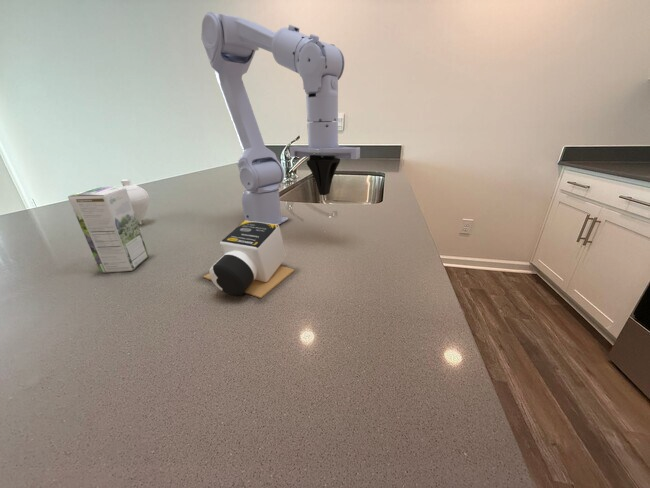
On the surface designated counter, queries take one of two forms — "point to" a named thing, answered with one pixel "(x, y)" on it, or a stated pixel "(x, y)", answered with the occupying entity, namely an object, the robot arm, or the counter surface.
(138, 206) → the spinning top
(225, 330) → the counter surface
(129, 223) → the syrup box
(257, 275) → the medicine bottle
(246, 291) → the cork mat
